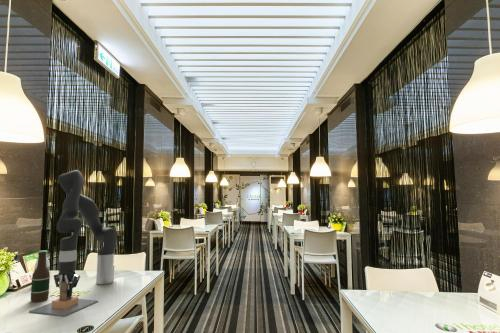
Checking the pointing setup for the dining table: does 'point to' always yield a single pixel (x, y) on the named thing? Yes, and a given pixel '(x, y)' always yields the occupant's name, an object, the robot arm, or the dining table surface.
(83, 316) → the dining table surface
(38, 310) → the socket holder
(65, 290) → the walnut peg
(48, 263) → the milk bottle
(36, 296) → the beer bottle
